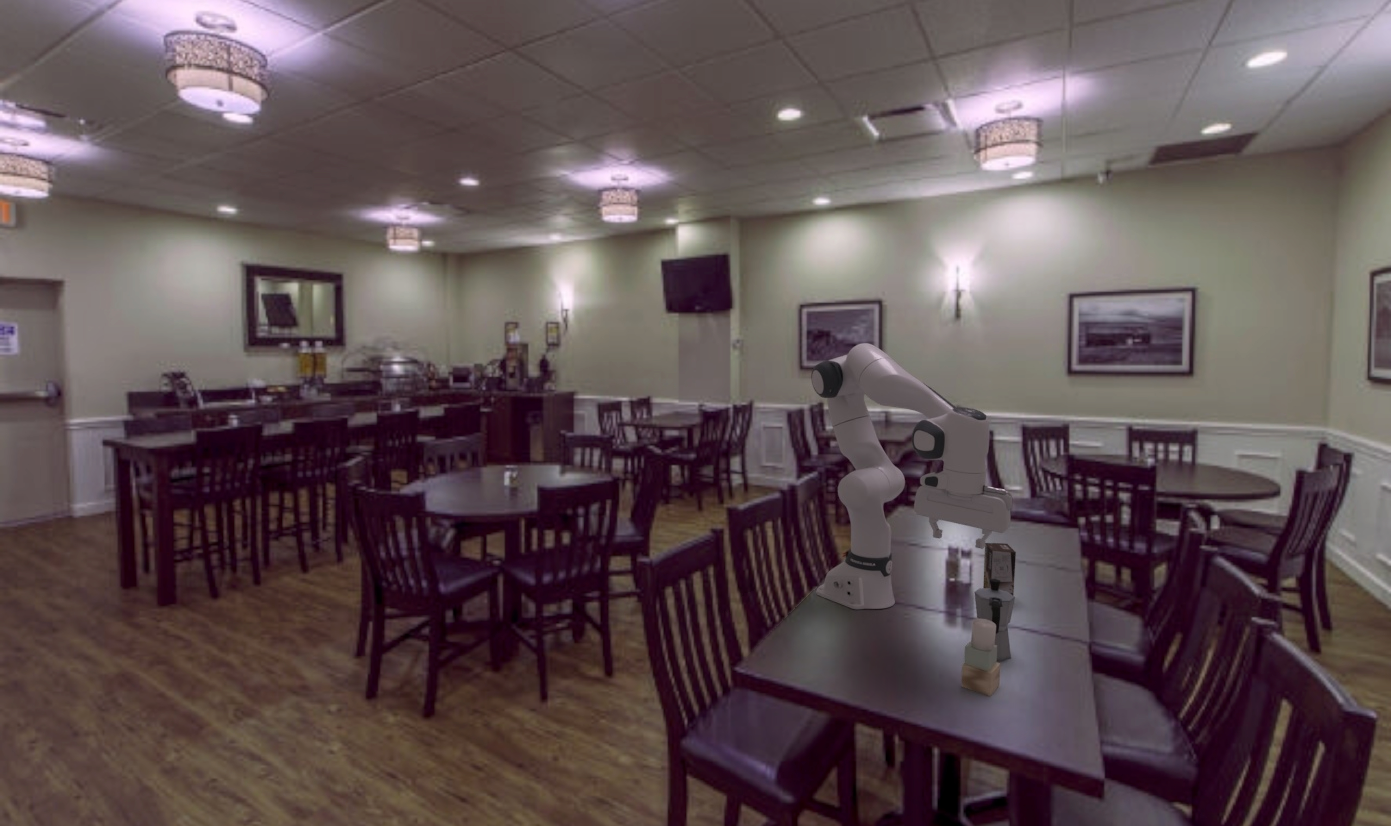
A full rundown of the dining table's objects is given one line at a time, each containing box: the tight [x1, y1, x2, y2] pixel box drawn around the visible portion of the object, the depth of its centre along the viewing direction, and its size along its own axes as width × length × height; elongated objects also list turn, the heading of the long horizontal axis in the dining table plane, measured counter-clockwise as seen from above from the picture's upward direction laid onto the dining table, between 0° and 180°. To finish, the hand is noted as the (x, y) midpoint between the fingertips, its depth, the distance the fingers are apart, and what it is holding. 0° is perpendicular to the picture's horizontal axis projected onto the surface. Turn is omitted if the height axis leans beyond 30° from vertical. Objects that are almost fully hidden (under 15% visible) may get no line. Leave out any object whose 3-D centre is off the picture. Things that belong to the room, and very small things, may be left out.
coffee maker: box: [973, 579, 1016, 662], centre depth 156 cm, size 15×9×18 cm, turn 159°
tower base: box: [960, 661, 1001, 697], centre depth 142 cm, size 6×6×5 cm
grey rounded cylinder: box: [970, 618, 996, 651], centre depth 141 cm, size 5×5×5 cm
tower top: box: [963, 640, 998, 671], centre depth 142 cm, size 5×5×4 cm
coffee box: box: [983, 542, 1017, 596], centre depth 189 cm, size 9×6×16 cm
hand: (958, 542), depth 147 cm, fingers open, 8 cm apart
